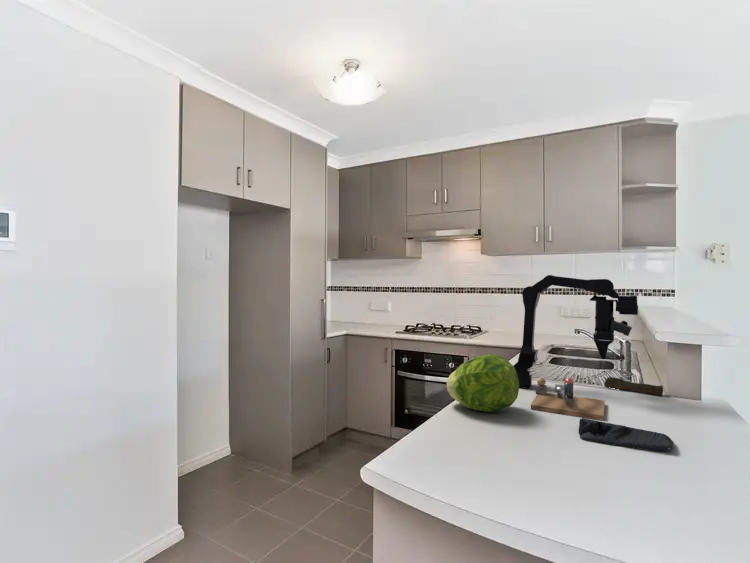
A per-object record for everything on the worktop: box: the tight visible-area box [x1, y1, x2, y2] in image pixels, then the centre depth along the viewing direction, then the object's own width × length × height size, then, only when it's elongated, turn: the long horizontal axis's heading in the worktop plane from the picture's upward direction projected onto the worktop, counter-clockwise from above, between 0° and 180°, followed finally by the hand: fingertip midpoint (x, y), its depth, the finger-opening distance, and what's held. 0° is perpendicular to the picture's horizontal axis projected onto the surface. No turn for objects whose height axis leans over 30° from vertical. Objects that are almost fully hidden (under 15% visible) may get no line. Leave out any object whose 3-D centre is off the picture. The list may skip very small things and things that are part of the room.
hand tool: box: [604, 376, 664, 397], centre depth 160 cm, size 19×4×5 cm, turn 50°
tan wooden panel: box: [530, 377, 606, 422], centre depth 140 cm, size 22×18×7 cm
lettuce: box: [446, 353, 520, 413], centre depth 137 cm, size 19×23×18 cm
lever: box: [554, 377, 574, 402], centre depth 141 cm, size 18×4×8 cm, turn 165°
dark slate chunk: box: [578, 417, 675, 452], centre depth 113 cm, size 15×22×5 cm
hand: (603, 356), depth 151 cm, fingers open, 9 cm apart
